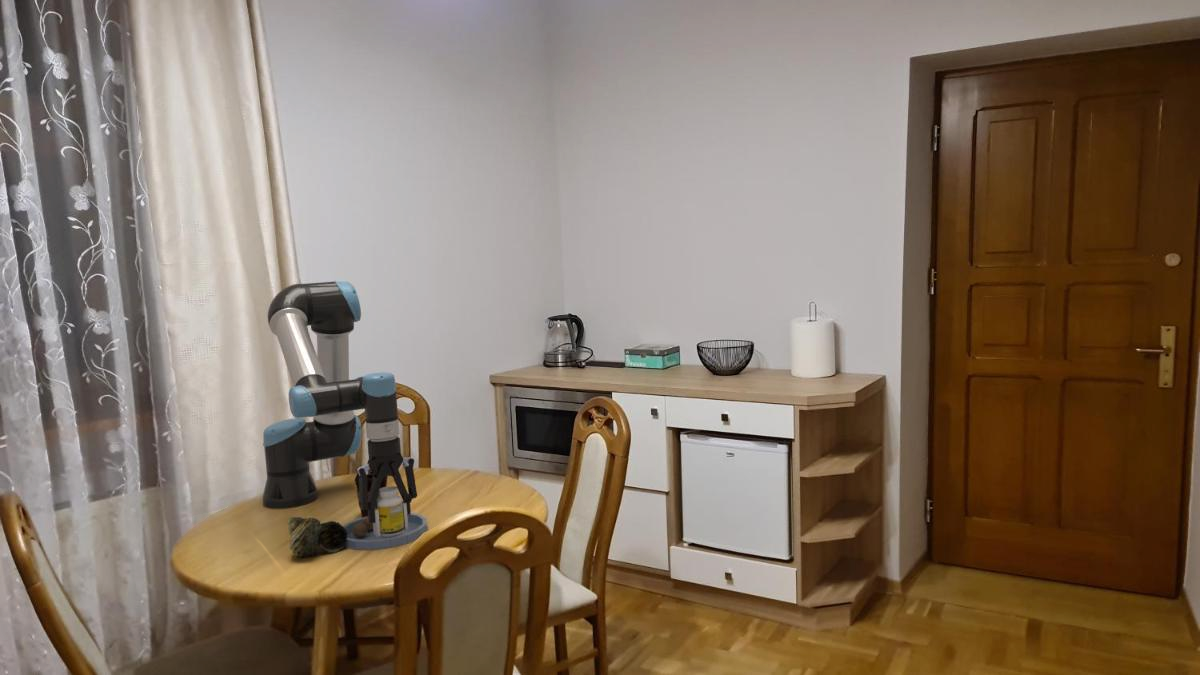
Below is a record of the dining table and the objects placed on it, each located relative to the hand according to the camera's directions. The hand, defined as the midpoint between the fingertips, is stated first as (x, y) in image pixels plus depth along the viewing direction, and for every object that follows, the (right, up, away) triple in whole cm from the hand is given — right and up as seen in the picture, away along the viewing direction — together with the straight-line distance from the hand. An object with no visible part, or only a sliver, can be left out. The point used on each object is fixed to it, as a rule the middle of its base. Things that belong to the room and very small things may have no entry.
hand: (391, 531), depth 192 cm
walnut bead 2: (-8, -2, +8) cm, 11 cm away
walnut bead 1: (-8, -2, +3) cm, 9 cm away
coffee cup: (-10, -2, +20) cm, 22 cm away
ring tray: (-3, -3, +5) cm, 6 cm away
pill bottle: (0, -1, 0) cm, 1 cm away
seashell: (-15, -5, -6) cm, 17 cm away
